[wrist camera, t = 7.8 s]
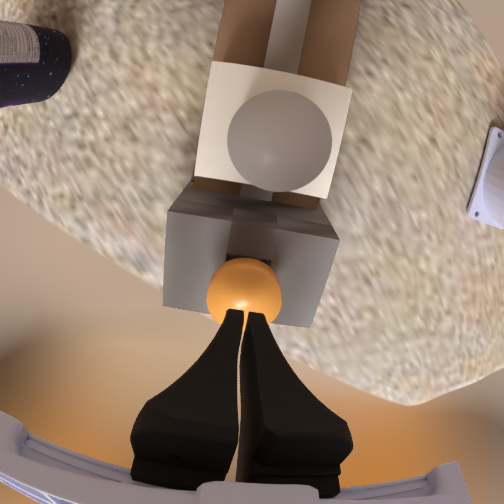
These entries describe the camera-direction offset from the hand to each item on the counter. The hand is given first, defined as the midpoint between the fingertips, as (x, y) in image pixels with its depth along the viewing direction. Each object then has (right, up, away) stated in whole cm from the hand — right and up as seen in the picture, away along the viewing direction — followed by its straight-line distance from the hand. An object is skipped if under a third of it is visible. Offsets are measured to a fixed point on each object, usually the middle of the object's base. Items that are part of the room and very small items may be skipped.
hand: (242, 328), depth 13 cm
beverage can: (-15, +17, +3) cm, 23 cm away
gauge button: (0, +2, +4) cm, 5 cm away
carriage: (+1, +11, +4) cm, 11 cm away
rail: (+2, +14, +4) cm, 15 cm away
